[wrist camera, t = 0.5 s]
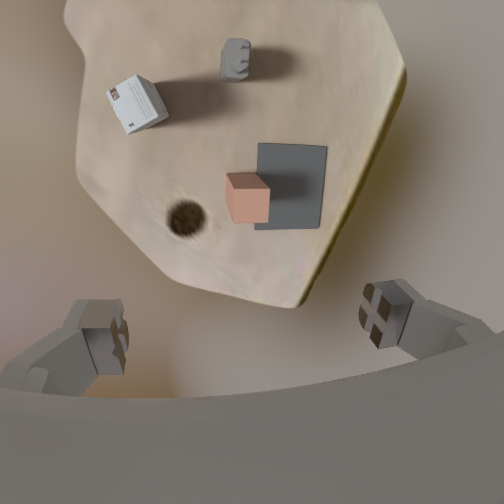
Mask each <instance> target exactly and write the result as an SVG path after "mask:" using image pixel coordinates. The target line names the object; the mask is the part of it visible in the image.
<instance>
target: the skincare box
mask: <svg viewBox="0 0 504 504" xmlns="http://www.w3.org/2000/svg"><path fill="white" fill-rule="evenodd" d="M106 94H107V96H108V98H109V100H110V102H111V104H112V106H113V107H114V111H115V113H116V115H117V117H118V118H119V119H120V121H121V123H122V125H123V127H124V129H125V130H126V132H127V134H128V135H129V134H132V133H135V132H138V131H142V130H145V129H147V128H149V127H151V126H153V125H155V124H157V123H158V122H160V121H162V120H164V119H166V118H167V117H169V114H168V111H167V109H166V107H165V105H164V102H163V100H162V98H161V97H160V95H159V93H158V91H157V89H156V87H155V86H154V84H153V83H152V82H150V81H148V80H146V79H144V78H143V77H141V76H139V75H137V74H136V75H134V76H132V77H130V78H129V79H127V80H125V81H124V82H122V83H120V84H118V85H117V86H115V87H113V88H112V89H110V90H109V91H107V92H106Z"/></svg>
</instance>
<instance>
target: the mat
mask: <svg viewBox="0 0 504 504" xmlns="http://www.w3.org/2000/svg"><path fill="white" fill-rule="evenodd" d="M325 159H326V146H312V145H295V144H271V143H258V158H257V176H258V177H259V178H260V179H261V180H262V181H263V182H264V183H265V184H266V185H267V186H268V187H269V188H270V199H269V217H268V223H255V230H274V229H318V227H319V219H320V210H321V201H322V191H323V181H324V170H325Z"/></svg>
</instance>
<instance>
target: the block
mask: <svg viewBox="0 0 504 504" xmlns="http://www.w3.org/2000/svg"><path fill="white" fill-rule="evenodd" d="M269 199H270V188H269V187H268V186H267V185H266V184H265V183H264V182H263V181H262V180H261V179H260V178H259V177H258V176H257V175H256V174H255V173H226V204H227V207H228V210H229V212H230V215H231V218H232V221H233V223H268V217H269Z"/></svg>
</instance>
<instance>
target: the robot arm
mask: <svg viewBox="0 0 504 504" xmlns="http://www.w3.org/2000/svg"><path fill="white" fill-rule="evenodd" d="M363 296H364V298H365V300H364V301H363V302H362V303H361V304H360V307H359V313H358V314H359V321H360V324H361V326H362V328H363V329H364V330H365V331H367V332H369V333H370V339H371V340H372V342H373V343H374V344H375V346H376V347H377V349H382V348H388V347H393V346H398V347H399V348H401V349H402V350H404V351H405V352H407V353H409V354H410V355H412V356H413V357H415V358H417V359H418V360H417V361H414V362H410V363H406V364H403V365H399V366H395V367H391V368H387V369H383V370H379V371H375V372H371V373H366V374H362V375H357V376H353V377H348V378H343V379H338V380H333V381H327V382H322V383H317V384H311V385H305V386H299V387H292V388H285V389H278V390H270V391H262V392H255V393H244V394H235V395H222V396H209V397H193V398H167V399H166V398H164V399H122V398H121V399H120V398H118V399H117V398H94V397H80V396H81V395H82V394H83V393H84V392H85V390H86V389H87V388H88V387H89V386H90V385H91V384H92V383H93V382H94V380H95V379H96V378H97V377H98V375H123V374H124V369H125V363H126V358H125V355H124V353H125V352H126V351H128V346H129V332H128V326H127V322H126V321H125V320H124V319H123V313H124V307H123V303H122V301H121V299H77V300H75V302H74V304H73V306H72V308H71V310H70V312H69V314H68V316H67V318H66V320H65V322H64V325H63V327H62V328H58V329H56V330H54V331H53V332H51V333H50V334H48V335H47V336H45V337H44V338H42V339H41V340H39V341H38V342H36V343H35V344H33V345H32V346H30V347H29V348H27V349H26V350H24V351H23V352H22V353H20V354H19V355H17V356H16V357H14V358H13V359H11V360H10V361H8V362H7V363H6V364H5V366H4V368H3V370H2V372H1V374H0V504H504V331H502V332H500V333H497V334H495V333H494V332H493V331H492V330H491V329H490V328H489V327H488V326H487V325H486V324H485V323H484V322H483V321H482V320H480V319H478V318H475V317H473V316H470V315H468V314H465V313H462V312H460V311H458V310H455V309H452V308H450V307H447V306H445V305H442V304H439V303H437V302H434V301H432V300H426V299H425V298H424V297H423V296H422V295H421V294H420V293H419V292H417V291H416V290H415V289H414V288H413V287H412V286H411V285H410V284H409V283H408V282H407V281H405V280H404V279H396V280H390V281H383V282H375V283H367V284H366V285H365V287H364V290H363Z"/></svg>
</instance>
